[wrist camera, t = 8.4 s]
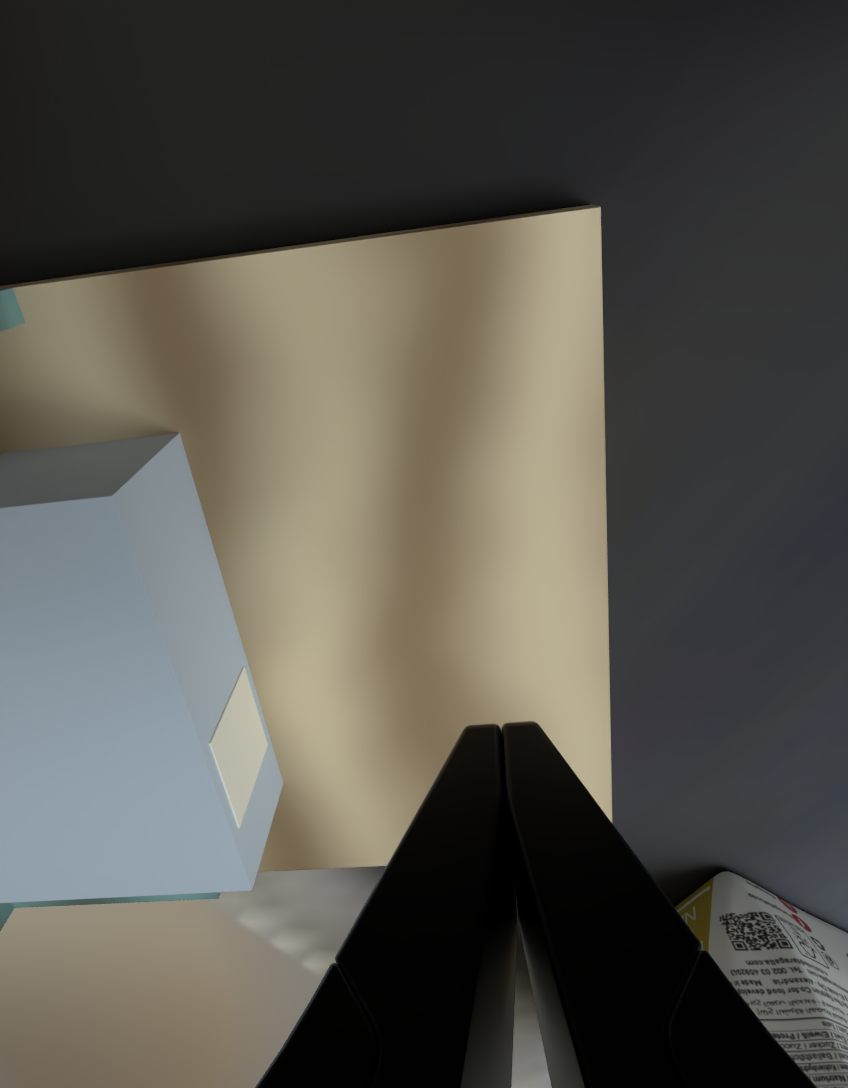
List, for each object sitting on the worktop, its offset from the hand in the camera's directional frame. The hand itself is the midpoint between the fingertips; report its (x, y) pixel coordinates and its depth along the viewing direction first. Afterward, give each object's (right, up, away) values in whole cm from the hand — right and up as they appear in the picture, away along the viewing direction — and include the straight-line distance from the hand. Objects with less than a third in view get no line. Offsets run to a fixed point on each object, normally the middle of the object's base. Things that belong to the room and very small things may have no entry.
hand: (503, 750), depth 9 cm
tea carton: (-11, -1, +13) cm, 17 cm away
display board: (-7, 0, +14) cm, 15 cm away
